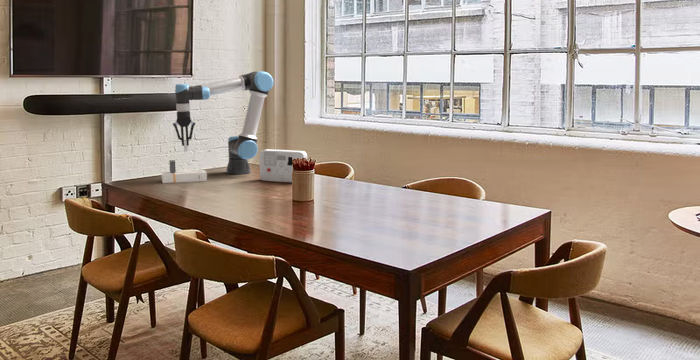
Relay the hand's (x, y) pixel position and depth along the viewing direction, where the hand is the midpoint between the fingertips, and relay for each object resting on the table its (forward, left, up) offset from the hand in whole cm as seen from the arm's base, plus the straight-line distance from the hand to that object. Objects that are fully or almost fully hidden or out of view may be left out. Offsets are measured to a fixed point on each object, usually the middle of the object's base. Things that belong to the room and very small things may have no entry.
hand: (185, 151), depth 389 cm
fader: (+8, 0, -17) cm, 19 cm away
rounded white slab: (-54, +20, -18) cm, 60 cm away
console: (+1, 0, -17) cm, 17 cm away
